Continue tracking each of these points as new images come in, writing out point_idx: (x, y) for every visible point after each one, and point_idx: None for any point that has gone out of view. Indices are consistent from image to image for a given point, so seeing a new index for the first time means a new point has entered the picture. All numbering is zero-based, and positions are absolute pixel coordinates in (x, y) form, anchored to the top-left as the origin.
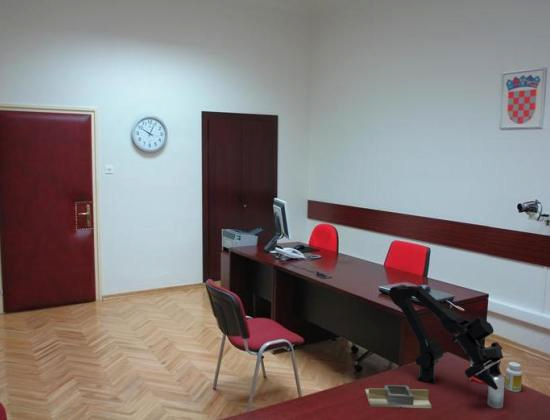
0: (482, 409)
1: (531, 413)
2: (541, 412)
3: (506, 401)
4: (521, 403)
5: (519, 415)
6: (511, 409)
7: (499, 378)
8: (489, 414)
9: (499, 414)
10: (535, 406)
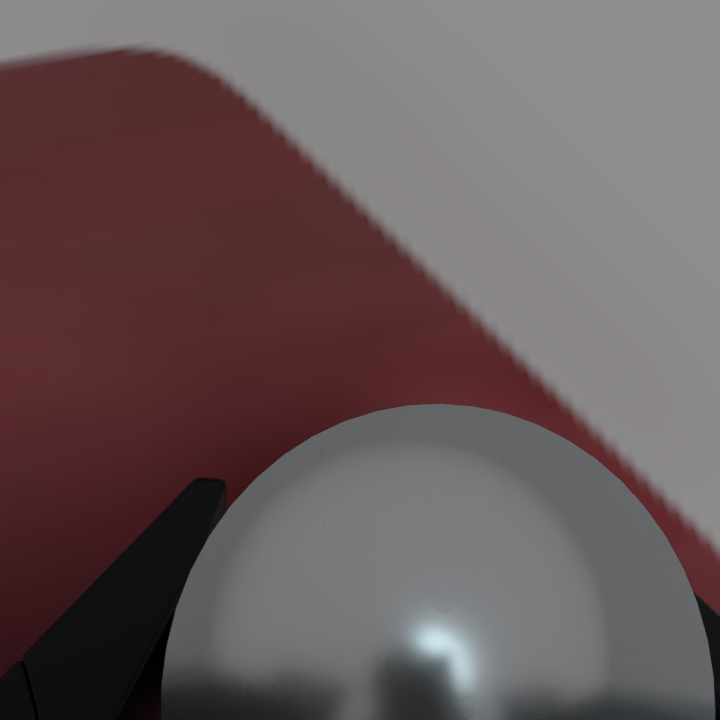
0: None
1: (248, 157)
2: (135, 79)
3: (125, 488)
4: (44, 315)
5: (405, 248)
6: (320, 363)
7: (564, 531)
8: (663, 528)
9: (565, 433)
10: (12, 162)
